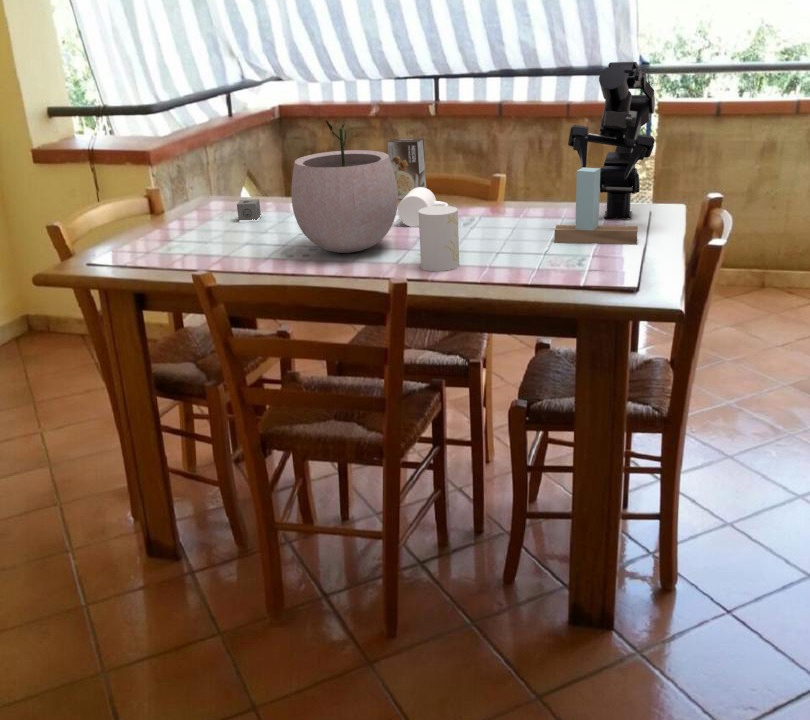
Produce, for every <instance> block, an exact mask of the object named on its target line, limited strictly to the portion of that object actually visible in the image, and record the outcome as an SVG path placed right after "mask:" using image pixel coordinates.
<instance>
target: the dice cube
mask: <svg viewBox="0 0 810 720" xmlns="http://www.w3.org/2000/svg"><path fill="white" fill-rule="evenodd" d="M236 210H237V220H238V221H239V220H252V219H253V220H254V219H255V220H257V219H258V218H259V217H260V215H261V216H262V213H261V204H260V199H240V200H239V201H237V203H236Z"/></svg>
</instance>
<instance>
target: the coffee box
mask: <svg viewBox="0 0 810 720" xmlns="http://www.w3.org/2000/svg"><path fill="white" fill-rule="evenodd" d="M387 152H388V153H387V154H388V156H389V158H390V161H391V164H392V167H393V170H394V174H395V178H396V183H397V189H398V200H403V199H404V197H405V196H406V195H407V194H408V193H409V192H410V191H411V190H413V189H414V188H417V187H423V188H427V177H426V176H427V175H426V158H425V155H426V154H425V139H424V138H393V139H391V140H389V141H388V142H387Z"/></svg>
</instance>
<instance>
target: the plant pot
mask: <svg viewBox="0 0 810 720" xmlns="http://www.w3.org/2000/svg"><path fill="white" fill-rule="evenodd" d="M346 117H347V116H344V118H343V122H342V124H341V126H340V128H339V129H338V130H339V136H338V135H337V134H336V133H335V131H334V130H333V126H332V125H331V124H330V123H329V122H328V120H327V119H325V122H326V125H327V127H328V128H329V131H331V134H332V136H333V138H335V137H336V138H337V139H338V140H339V141H340V142H339V143H340V150H334V151H325V152H319V153H313V154H309V155H305V156H302V157H299V158H297V159H295V160H294V165H293V169H292V176H291V177H292V180H291V206H292V210H293V214H294V218H295V221H296V223H297V224H298V225H297V226H298V227H299V228H300V231H301V232H302V234H303V235H304V236H305V237H306V238H307V239H308V240H309V241H310V242H312V243H313V244H314V245H315V246H316V247H319V248H321V249H323V250H326V251H329V252H334V253H341V254H343V253H345V254H346V253H347V254H350V253H356V252H357V253H358V252H362V251H365V250H366V249H367V250H368V249H369V248H371V247H373V246H375V245H377V244H378V243H379V242H380V241H382V240H383V239H384V238H385V237H386V235H387V234H388V233H389V231H390V230H391V228H392V226H393V224H394V221H395V219H396V216H397V213H398V206H399V199H398V189H397V183H396V178H395V174H394V170H393V167H392V164H391V161H390V158H389V155H388V153H386V152H384V151H377V150H367V149H366V150H365V149H364V150H362V149H356V150H355V149H353V150H351V149H349V150H344V149H345V146H346V139H347V132H346V130H344V134H343V128H344V127H345V124H346V123H345V119H346ZM343 135H344V136H343Z"/></svg>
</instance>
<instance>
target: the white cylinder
mask: <svg viewBox="0 0 810 720" xmlns="http://www.w3.org/2000/svg"><path fill="white" fill-rule="evenodd" d="M418 212H419V227H418V228H419V229H418V230H419V231H418V232H419V247H420V248H419V252H420V254H419V255H420V268H421V269H422V270H424V271H426V270H429V271H428V272H432V271H443V272H447V271H446V270H450V271H452V270H451V269H454V270H456V269H458V268H460V245H459V244H460V243H459V242H460V241H459V238H460V237H459V210H458V208H457V207H455V206H452V205H449V206H430V207H425V208H422V209H420V210H419V211H418ZM457 267H458V268H457ZM455 268H456V269H455Z"/></svg>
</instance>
